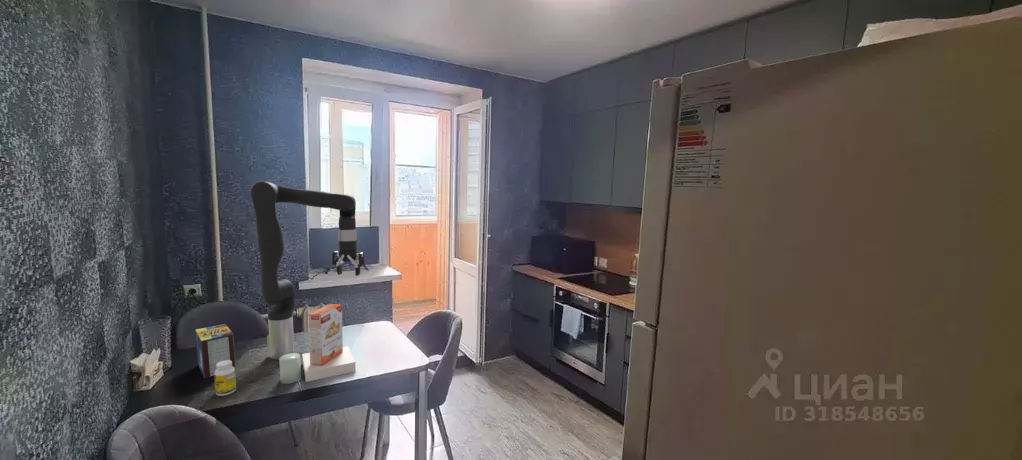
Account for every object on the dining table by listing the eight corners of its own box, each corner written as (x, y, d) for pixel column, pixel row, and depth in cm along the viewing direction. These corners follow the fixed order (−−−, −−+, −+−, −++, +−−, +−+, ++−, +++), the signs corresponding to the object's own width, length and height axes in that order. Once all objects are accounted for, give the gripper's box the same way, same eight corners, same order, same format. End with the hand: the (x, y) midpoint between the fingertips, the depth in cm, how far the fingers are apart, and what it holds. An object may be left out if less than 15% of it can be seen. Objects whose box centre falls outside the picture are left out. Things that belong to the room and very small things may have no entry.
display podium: (305, 381, 155) (305, 371, 155) (302, 363, 171) (302, 354, 170) (355, 371, 164) (355, 362, 164) (348, 354, 180) (347, 345, 179)
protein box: (228, 358, 174) (225, 323, 172) (236, 370, 163) (233, 333, 161) (197, 365, 167) (194, 329, 165) (203, 379, 156) (200, 340, 154)
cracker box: (323, 366, 160) (321, 314, 157) (309, 364, 161) (307, 313, 158) (344, 351, 173) (342, 304, 171) (331, 350, 174) (329, 302, 172)
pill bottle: (211, 394, 145) (209, 364, 144) (228, 386, 151) (226, 357, 150) (223, 398, 143) (221, 368, 142) (240, 389, 149) (238, 360, 147)
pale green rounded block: (276, 382, 154) (274, 360, 153) (289, 374, 161) (287, 352, 160) (292, 384, 153) (291, 361, 152) (305, 375, 160) (304, 354, 159)
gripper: (327, 239, 179) (329, 275, 181) (357, 241, 176) (358, 277, 178) (337, 237, 186) (339, 272, 188) (366, 238, 184) (367, 273, 186)
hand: (348, 274), depth 183 cm, fingers open, 8 cm apart
